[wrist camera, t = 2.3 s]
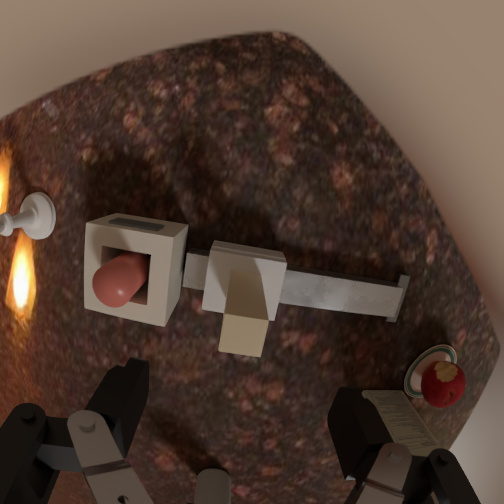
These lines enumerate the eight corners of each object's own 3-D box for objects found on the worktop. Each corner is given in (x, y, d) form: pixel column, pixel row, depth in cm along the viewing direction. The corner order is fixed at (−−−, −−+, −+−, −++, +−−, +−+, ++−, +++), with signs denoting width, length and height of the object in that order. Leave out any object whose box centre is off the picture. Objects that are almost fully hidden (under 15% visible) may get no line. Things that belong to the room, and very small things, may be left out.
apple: (390, 382, 32) (412, 416, 25) (435, 332, 30) (465, 359, 24) (422, 402, 33) (443, 432, 27) (462, 358, 32) (489, 383, 25)
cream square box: (188, 222, 27) (173, 234, 21) (179, 297, 28) (164, 326, 23) (116, 210, 26) (86, 219, 20) (111, 283, 28) (84, 307, 22)
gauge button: (153, 251, 24) (132, 270, 19) (150, 287, 24) (130, 311, 20) (119, 245, 24) (92, 261, 19) (117, 280, 24) (92, 302, 19)
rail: (406, 274, 28) (416, 280, 27) (392, 318, 30) (400, 327, 28) (192, 236, 27) (188, 241, 25) (185, 289, 28) (181, 297, 26)
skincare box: (348, 414, 33) (378, 489, 21) (362, 388, 32) (400, 463, 20) (390, 415, 33) (426, 481, 21) (405, 389, 32) (448, 455, 20)
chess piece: (60, 233, 27) (-3, 258, 17) (28, 243, 27) (-33, 268, 17) (50, 186, 26) (-17, 194, 16) (19, 199, 26) (-46, 212, 16)
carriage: (282, 251, 27) (307, 301, 16) (270, 306, 28) (285, 379, 17) (214, 240, 27) (194, 283, 16) (206, 295, 28) (185, 365, 17)
